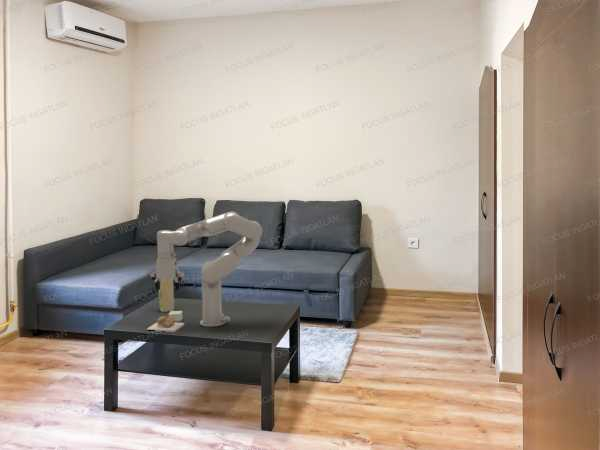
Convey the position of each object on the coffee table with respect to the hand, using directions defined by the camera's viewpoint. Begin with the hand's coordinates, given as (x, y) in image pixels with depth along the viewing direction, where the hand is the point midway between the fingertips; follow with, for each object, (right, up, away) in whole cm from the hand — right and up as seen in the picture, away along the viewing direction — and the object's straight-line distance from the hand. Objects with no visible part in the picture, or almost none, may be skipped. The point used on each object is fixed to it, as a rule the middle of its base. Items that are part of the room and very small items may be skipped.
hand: (167, 289), depth 276 cm
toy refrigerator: (-8, -15, +32) cm, 36 cm away
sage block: (+1, -17, +12) cm, 21 cm away
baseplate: (-1, -18, -1) cm, 18 cm away
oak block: (-1, -17, -2) cm, 18 cm away
